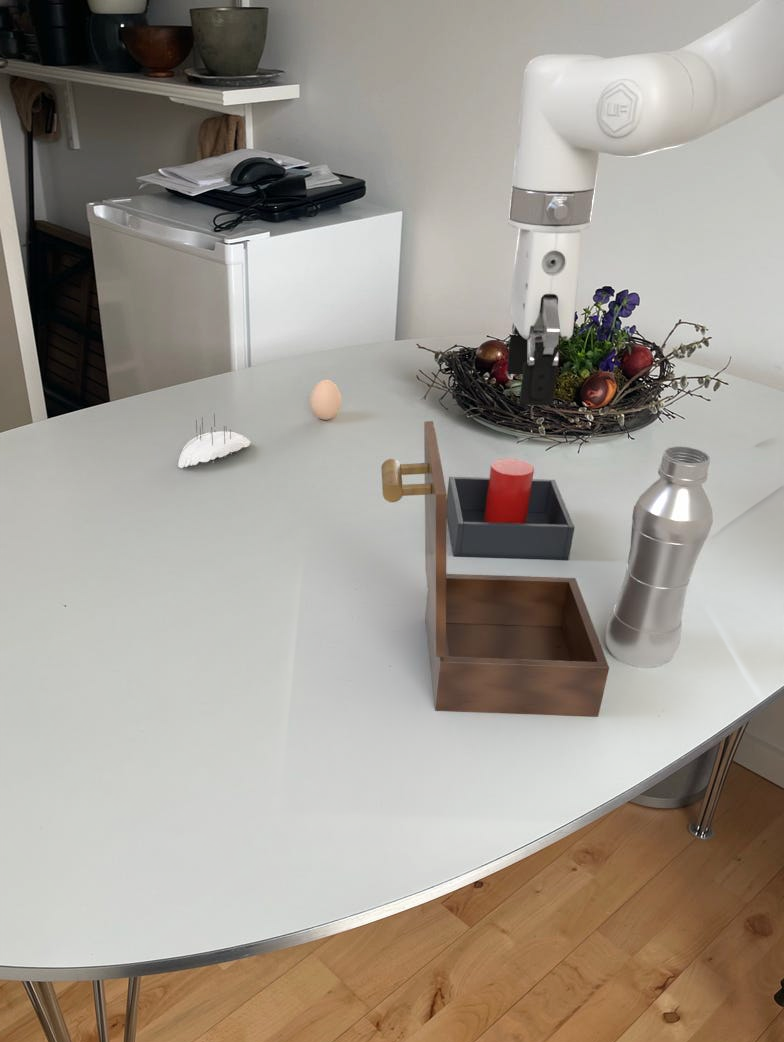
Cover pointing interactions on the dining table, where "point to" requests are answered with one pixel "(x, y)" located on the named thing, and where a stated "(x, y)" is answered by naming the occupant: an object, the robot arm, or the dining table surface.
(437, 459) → the lid
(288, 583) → the dining table surface
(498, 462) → the red cylinder
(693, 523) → the silver metal bottle
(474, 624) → the chest
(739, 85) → the robot arm
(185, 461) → the pincushion
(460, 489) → the bin
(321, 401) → the egg
